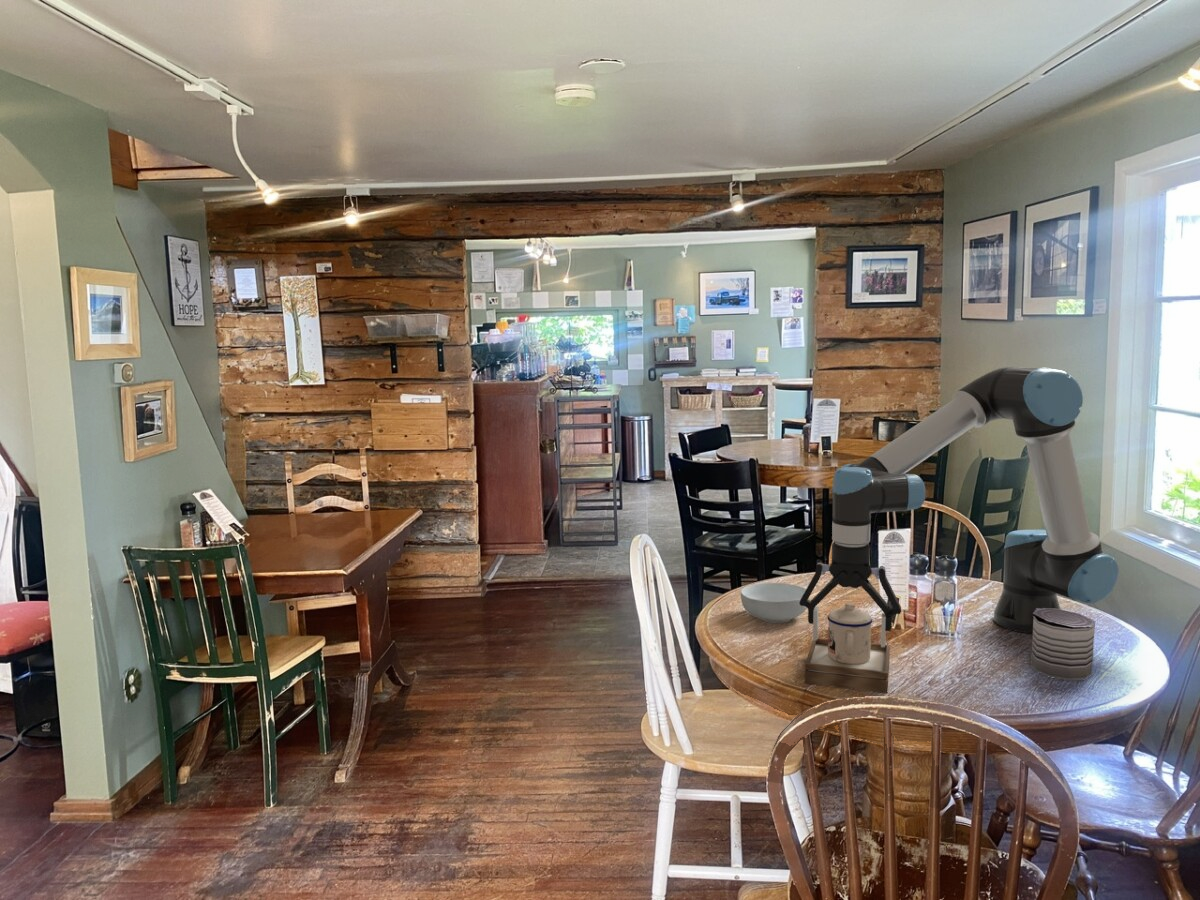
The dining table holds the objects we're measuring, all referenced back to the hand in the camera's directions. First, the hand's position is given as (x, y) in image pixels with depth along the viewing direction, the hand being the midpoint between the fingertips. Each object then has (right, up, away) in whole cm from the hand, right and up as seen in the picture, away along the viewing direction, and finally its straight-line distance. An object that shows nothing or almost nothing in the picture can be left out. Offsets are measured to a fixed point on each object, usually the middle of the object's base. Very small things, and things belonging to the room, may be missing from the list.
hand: (848, 641), depth 179 cm
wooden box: (0, -7, +1) cm, 7 cm away
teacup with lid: (0, -4, +1) cm, 4 cm away
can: (+45, -6, +1) cm, 45 cm away
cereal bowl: (-8, -2, +37) cm, 38 cm away
